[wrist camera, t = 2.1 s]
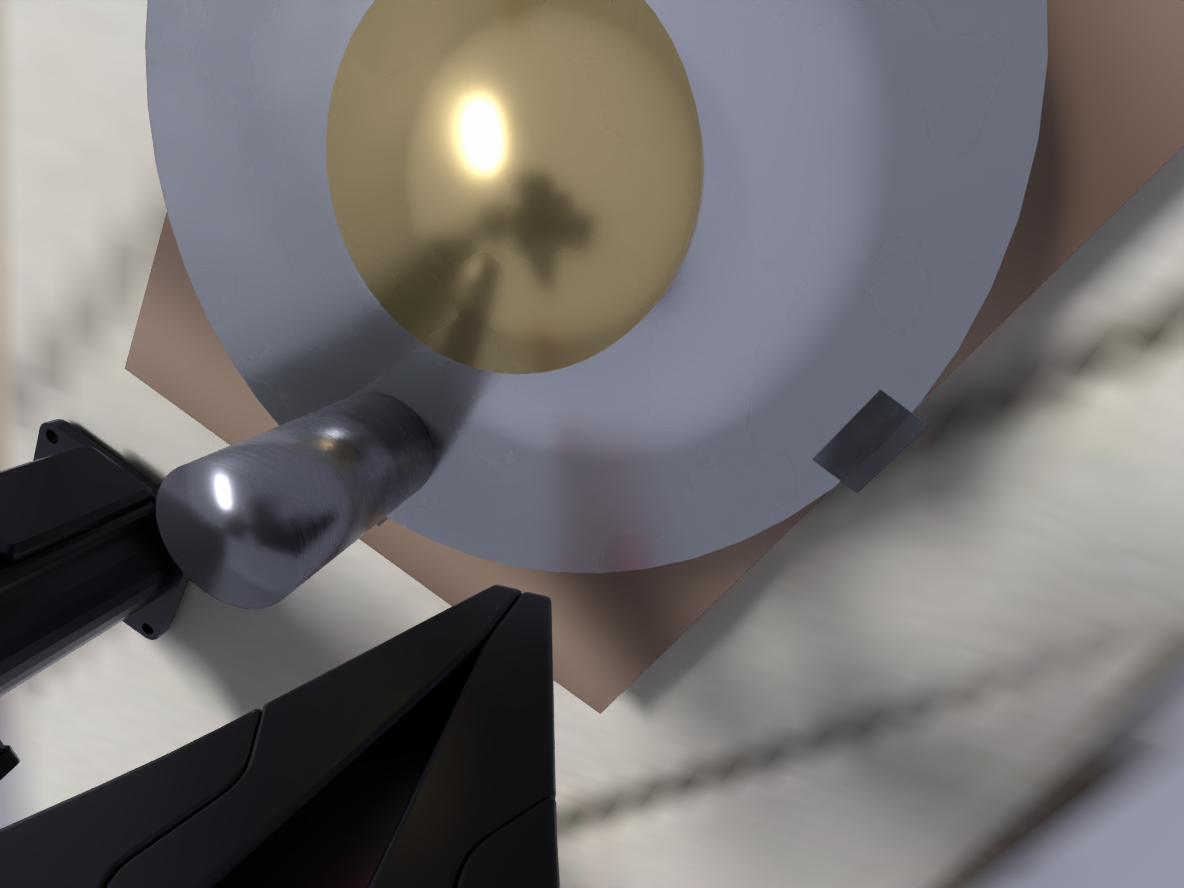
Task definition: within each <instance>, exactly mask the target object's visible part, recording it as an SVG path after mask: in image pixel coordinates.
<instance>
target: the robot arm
mask: <svg viewBox="0 0 1184 888" xmlns="http://www.w3.org/2000/svg"><path fill="white" fill-rule="evenodd" d="M158 490H159V488H158V487H156V486H155V485H154V484H152V483H151V482H150V481H148V480H147V479H145V478H144V477H143V476H141V475H140V474H138V473H137V472H136V471H134V470H133V469H132V468H130V467H129V466H127V465H126V464H125V463H123V462H122V461H121V460H119V459H118V458H116V457H115V456H114V455H112V454H111V453H109V452H108V451H107V450H105V449H104V448H103V447H101V446H100V445H98V444H97V443H96V442H94V441H93V440H91V439H90V438H89V437H87V436H86V435H85V434H83V433H82V432H80V431H79V430H78V429H76V428H75V427H73V426H72V425H71V424H69V423H68V422H66V421H64V420H62V419H57V420H53V421H49V422H46V423H43V424H42V425H41V427H40V430H39V435H38V440H37V445H36V450H35V455H34V460H33V461H32V462H28V463H25V464H22V465H19V466H16V467H13V468H9V469H6V470H3V471H0V697H1V696H2V695H4V694H5V693H7V692H9V691H10V690H12V689H13V688H15V687H17V686H18V685H20V684H21V683H23V682H25V681H26V680H28V679H29V678H31V677H33V676H34V675H36V674H37V673H39V672H41V671H42V670H44V669H45V668H47V667H49V666H50V665H52V664H53V663H55V662H57V661H58V660H60V659H61V658H63V657H65V656H66V655H68V654H69V653H71V652H73V651H74V650H76V649H77V648H79V647H81V646H82V645H84V644H85V643H87V642H89V641H90V640H92V639H93V638H95V637H97V636H98V635H100V634H101V633H103V632H105V631H106V630H108V629H110V628H111V627H113V626H114V625H116V624H118V623H119V622H121V621H123V622H125V623H126V624H127V625H129V626H130V627H132V628H133V629H134V630H136V631H137V632H139V633H140V634H141V635H143V636H144V637H146V638H148V639H151V640H155V639H157V638H159V637H160V636H161V635H163V634H164V633H166V632H167V631H168V629H169V626H170V624H171V621H172V619H173V616H174V614H175V611H176V609H177V606H178V604H179V602H180V599H181V597H182V594H183V592H184V589H185V587H186V584H187V582H188V579H189V578H188V577H187V576H186V575H185V574H184V572H183V571H182V570H181V569H180V568H179V566H178V565H177V564H176V563H175V561H174V560H173V558H172V557H171V555H170V553H169V552H168V550H167V548H166V546H165V544H164V542H163V539H162V537H161V534H160V531H159V528H158V524H157V518H156V498H157V494H158ZM19 762H20V760H19V758H18V757H17V755H16V754H15V752H14V751H13V749H12V748H11V747H10V746H9V745H6V746H4V745H3V743H2V742H1V740H0V780H1V779H2V778H3V777H4V776H5V775H7V774H8V773H9V772H10V771H11V770H12V769H13V768H14V767H15V766H16V765H17V764H18V763H19ZM555 796H556V785H555V739H554V694H553V648H552V604H551V599H550V598H549V597H548V596H544V595H539V594H535V593H531V592H524V593H523V594H522V592H521V591H520V590H518V589H515V588H510V587H506V586H502V585H493V586H491V587H489V588H487V589H485V590H483V591H481V592H479V593H477V594H475V595H473V596H472V597H470V598H468V599H466V600H464V601H462V602H460V603H458V604H456V605H454V606H452V607H451V608H449V609H447V610H445V611H443V612H441V613H439V614H437V615H435V616H433V617H431V618H429V619H428V620H426V621H424V622H422V623H420V624H418V625H416V626H414V627H412V628H410V629H408V630H407V631H405V632H403V633H401V634H399V635H397V636H395V637H393V638H391V639H389V640H387V641H386V642H384V643H382V644H380V645H378V646H376V647H374V648H372V649H370V650H368V651H366V652H365V653H363V654H361V655H359V656H357V657H355V658H353V659H351V660H349V661H347V662H345V663H343V664H342V665H340V666H338V667H336V668H334V669H332V670H330V671H328V672H326V673H324V674H322V675H321V676H319V677H317V678H315V679H313V680H311V681H309V682H307V683H305V684H303V685H301V686H300V687H298V688H296V689H294V690H292V691H290V692H288V693H286V694H284V695H282V696H280V697H278V698H277V699H275V700H273V701H271V702H269V703H267V704H265V705H264V707H263V710H260V709H255V710H253V711H251V712H249V713H247V714H245V715H244V716H242V717H240V718H238V719H236V720H234V721H232V722H230V723H228V724H226V725H224V726H223V727H221V728H219V729H217V730H215V731H213V732H211V733H209V734H207V735H205V736H203V737H201V738H199V739H197V740H195V741H193V742H191V743H189V744H187V745H185V746H183V747H181V748H179V749H177V750H175V751H173V752H171V753H169V754H167V755H164V756H162V757H160V758H158V759H156V760H153V761H151V762H149V763H147V764H145V765H143V766H140V767H138V768H136V769H134V770H132V771H130V772H127V773H125V774H123V775H121V776H119V777H117V778H114V779H112V780H110V781H108V782H106V783H103V784H101V785H99V786H97V787H95V788H92V789H90V790H88V791H86V792H83V793H81V794H79V795H77V796H74V797H72V798H70V799H67V800H65V801H63V802H61V803H58V804H56V805H54V806H52V807H49V808H47V809H45V810H43V811H40V812H38V813H36V814H34V815H31V816H29V817H27V818H24V819H22V820H20V821H18V822H15V823H13V824H11V825H9V826H6V827H4V828H2V829H0V888H560V880H559V863H558V846H557V815H556V801H555Z"/></svg>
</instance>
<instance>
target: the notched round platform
mask: <svg viewBox="0 0 1184 888" xmlns="http://www.w3.org/2000/svg"><path fill="white" fill-rule="evenodd" d="M145 50H146V74H147V98H148V110H149V118H150V125H151V132H152V139H153V147H154V154H155V161H156V166H157V171H158V175H159V179H160V183H161V188H162V192H163V196H164V201H165V205H166V209H167V213H168V218H169V221H170V224H171V227H172V230H173V233H174V236H175V239H176V242H177V245H178V248H179V251H180V254H181V257H182V260H183V263H184V266H185V269H186V271H187V273H188V276H189V278H190V280H191V282H192V285H193V287H194V289H195V292H196V294H197V296H198V298H199V301H200V303H201V305H202V307H203V310H204V312H205V314H206V317H207V318H208V320H209V322H210V324H211V326H212V327H213V329H214V331H215V333H216V335H217V336H218V338H219V340H220V342H221V344H222V345H223V347H224V349H225V351H226V353H227V354H228V356H229V358H230V360H231V361H232V363H233V364H234V366H235V367H236V369H237V370H238V372H239V373H240V375H241V376H242V377H243V379H244V380H245V382H246V383H247V385H248V386H249V388H250V389H251V391H252V392H253V394H254V395H255V396H256V398H257V399H258V401H259V402H260V403H261V404H262V406H263V407H264V408H265V409H266V410H267V412H268V413H269V414H270V415H271V416H272V418H273V419H274V420H275V421H276V422H277V424H278V425H279V426H278V427H275V428H273V429H270V430H268V431H265V432H263V433H261V434H258V435H256V436H253V437H251V438H248V439H246V440H243V441H241V442H239V443H236V444H234V445H231V446H229V447H226V448H224V449H221V450H219V451H217V452H214V453H212V454H209V455H207V456H204V457H202V458H200V459H197V460H195V461H192V462H190V463H187V464H185V465H182V466H180V467H178V468H176V469H174V470H173V471H171V472H170V473H169V474H168V475H167V476H166V477H165V479H164V480H163V482H162V483H161V485H160V488H159V490H158V494H157V498H156V518H157V524H158V528H159V531H160V534H161V537H162V539H163V542H164V544H165V546H166V548H167V550H168V552H169V553H170V555H171V557H172V558H173V560H174V561H175V563H176V564H177V565H178V566H179V568H180V569H181V570H182V571H183V572H184V574H185V575H186V576H187V577H188V578H189V579H190V580H191V581H192V582H193V583H195V584H196V585H197V586H198V587H199V588H201V589H202V590H203V591H205V592H206V593H208V594H209V595H211V596H213V597H214V598H216V599H218V600H220V601H222V602H225V603H227V604H230V605H233V606H236V607H241V608H247V609H259V608H265V607H269V606H272V605H274V604H276V603H278V602H279V601H281V600H282V599H284V598H285V597H286V596H287V595H289V594H290V593H291V592H292V591H294V590H295V589H296V588H297V587H299V586H300V585H301V584H302V583H304V582H305V581H306V580H307V579H309V578H310V577H311V576H312V575H314V574H315V573H316V572H317V571H319V570H320V569H321V568H322V567H324V566H325V565H326V564H327V563H329V562H330V561H331V560H332V559H334V558H335V557H336V556H337V555H339V554H340V553H341V552H342V551H344V550H345V549H346V548H347V547H349V546H350V545H351V544H352V543H354V542H355V541H356V540H357V539H359V538H360V537H361V536H362V535H364V534H365V533H366V532H367V531H369V530H370V529H371V528H372V527H374V526H375V525H378V526H380V525H381V524H382V523H384V522H385V521H386V520H387V519H391V520H393V521H395V522H397V523H399V524H400V525H402V526H404V527H406V528H408V529H410V530H412V531H414V532H416V533H418V534H420V535H422V536H424V537H426V538H428V539H430V540H432V541H435V542H437V543H440V544H443V545H445V546H448V547H451V548H453V549H456V550H458V551H461V552H464V553H466V554H469V555H472V556H476V557H480V558H483V559H487V560H491V561H495V562H499V563H503V564H507V565H511V566H515V567H523V568H530V569H537V570H544V571H551V572H569V573H609V572H619V571H629V570H639V569H648V568H653V567H657V566H662V565H666V564H671V563H675V562H680V561H684V560H689V559H693V558H696V557H699V556H702V555H705V554H708V553H710V552H713V551H716V550H719V549H722V548H724V547H727V546H730V545H733V544H736V543H739V542H741V541H743V540H745V539H747V538H749V537H751V536H753V535H755V534H757V533H759V532H761V531H763V530H765V529H767V528H769V527H771V526H773V525H775V524H777V523H779V522H781V521H783V520H785V519H787V518H789V517H790V516H792V515H793V514H795V513H796V512H798V511H799V510H801V509H802V508H804V507H805V506H807V505H808V504H810V503H811V502H813V501H814V500H816V499H817V498H819V497H820V496H822V495H823V494H825V493H826V492H828V491H829V490H831V489H832V488H834V487H835V486H836V485H837V484H838V483H840V482H843V483H844V484H845V485H847V486H848V487H850V488H851V489H852V490H854V491H855V492H856V493H858V492H859V491H860V490H861V489H862V488H863V487H864V486H865V485H866V484H867V483H868V482H869V481H870V480H871V479H872V478H873V477H875V476H876V475H877V474H878V473H879V472H880V471H881V470H882V469H883V468H884V467H885V466H886V465H887V464H888V463H889V462H890V461H891V460H893V459H894V458H895V457H896V456H897V455H898V454H899V453H900V452H901V451H902V450H903V449H904V448H905V447H906V446H907V445H908V444H909V443H911V442H912V441H913V440H914V439H915V438H916V437H917V436H918V435H919V434H920V433H921V432H922V431H923V430H924V429H925V428H926V427H927V426H928V424H927V423H925V422H924V421H923V420H922V419H921V418H920V417H919V416H918V415H917V414H916V413H915V412H914V410H915V408H916V407H917V406H918V405H919V404H920V403H921V401H922V400H923V398H924V397H925V396H926V394H927V393H928V391H929V390H930V389H931V387H932V386H933V384H934V383H935V382H936V380H937V379H938V377H939V376H940V375H941V373H942V372H943V370H944V369H945V368H946V366H947V365H948V363H949V362H950V360H951V359H952V358H953V356H954V355H955V353H956V352H957V351H958V349H959V347H960V345H961V343H962V342H963V340H964V338H965V336H966V334H967V332H968V330H969V329H970V327H971V325H972V323H973V321H974V319H975V317H976V316H977V314H978V312H979V310H980V308H981V306H982V305H983V303H984V301H985V299H986V297H987V295H988V293H989V292H990V290H991V288H992V285H993V283H994V280H995V278H996V275H997V272H998V270H999V267H1000V265H1001V262H1002V260H1003V257H1004V254H1005V252H1006V249H1007V247H1008V244H1009V242H1010V239H1011V237H1012V234H1013V231H1014V229H1015V226H1016V224H1017V221H1018V219H1019V215H1020V211H1021V207H1022V203H1023V199H1024V195H1025V191H1026V187H1027V183H1028V179H1029V175H1030V171H1031V167H1032V163H1033V159H1034V155H1035V151H1036V147H1037V143H1038V137H1039V129H1040V120H1041V112H1042V103H1043V95H1044V86H1045V78H1046V69H1047V61H1048V37H1047V0H148V4H147V22H146V40H145Z"/></svg>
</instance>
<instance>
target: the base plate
mask: <svg viewBox="0 0 1184 888" xmlns="http://www.w3.org/2000/svg"><path fill="white" fill-rule="evenodd" d="M1047 37H1048V61H1047V69H1046V78H1045V86H1044V95H1043V103H1042V112H1041V120H1040V129H1039V137H1038V143H1037V147H1036V151H1035V155H1034V159H1033V163H1032V167H1031V171H1030V175H1029V179H1028V183H1027V187H1026V191H1025V195H1024V199H1023V203H1022V207H1021V211H1020V215H1019V219H1018V221H1017V224H1016V226H1015V229H1014V231H1013V234H1012V237H1011V239H1010V242H1009V244H1008V247H1007V249H1006V252H1005V254H1004V257H1003V260H1002V262H1001V265H1000V267H999V270H998V272H997V275H996V278H995V280H994V283H993V285H992V288H991V290H990V292H989V293H988V295H987V297H986V299H985V301H984V303H983V305H982V306H981V308H980V310H979V312H978V314H977V316H976V317H975V319H974V321H973V323H972V325H971V327H970V329H969V330H968V332H967V334H966V336H965V338H964V340H963V342H962V343H961V345H960V347H959V349H958V351H957V352H956V353H955V355H954V356H953V358H952V359H951V360H950V362H949V363H948V365H947V366H946V368H945V369H944V370H943V372H942V373H941V375H940V376H939V377H938V379H937V380H936V382H935V383H934V384H933V386H932V387H931V389H930V390H929V391H928V393H927V394H926V396H927V395H928V394H929V393H930V392H931V391H932V390H933V389H934V388H935V387H936V386H937V385H938V384H939V383H940V382H941V381H942V380H943V379H944V378H946V377H947V376H948V375H949V374H950V373H951V372H952V371H953V370H954V369H955V368H956V367H957V366H958V365H959V364H960V363H961V362H962V361H963V360H964V359H965V358H966V357H967V356H968V355H969V354H970V353H971V352H972V351H973V350H974V349H975V348H976V347H977V346H978V345H979V344H980V343H981V342H982V341H984V340H985V339H986V338H987V337H988V336H989V335H990V334H991V333H992V332H993V331H994V330H995V329H996V328H997V327H998V326H999V325H1000V324H1001V323H1002V322H1003V321H1004V320H1005V319H1006V318H1007V317H1008V316H1009V315H1010V314H1011V313H1012V312H1013V311H1014V310H1015V309H1016V308H1017V307H1018V306H1019V305H1020V304H1021V303H1023V302H1024V301H1025V300H1026V299H1027V298H1028V297H1029V296H1030V295H1031V294H1032V293H1033V292H1034V291H1035V290H1036V289H1037V288H1038V287H1039V286H1040V285H1041V284H1042V283H1043V282H1044V281H1045V280H1046V279H1047V278H1048V277H1049V276H1050V275H1051V274H1052V273H1053V272H1054V271H1055V270H1056V269H1057V268H1058V267H1059V266H1061V265H1062V264H1063V263H1064V262H1065V261H1066V260H1067V259H1068V258H1069V257H1070V256H1071V255H1072V254H1073V253H1074V252H1075V251H1076V250H1077V249H1078V248H1079V247H1080V246H1081V245H1082V244H1083V243H1084V242H1085V241H1086V240H1087V239H1088V238H1089V237H1090V236H1091V235H1092V234H1093V233H1094V232H1095V231H1096V230H1097V229H1099V228H1100V227H1101V226H1102V225H1103V224H1104V223H1105V222H1106V221H1107V220H1108V219H1109V218H1110V217H1111V216H1112V215H1113V214H1114V213H1115V212H1116V211H1117V210H1118V209H1119V208H1120V207H1121V206H1122V205H1123V204H1124V203H1125V202H1126V201H1127V200H1128V199H1129V198H1130V197H1131V196H1132V195H1133V194H1134V193H1135V192H1137V191H1138V190H1139V189H1140V188H1141V187H1142V186H1143V185H1144V184H1145V183H1146V182H1147V181H1148V180H1149V179H1150V178H1151V177H1152V176H1153V175H1154V174H1155V173H1156V172H1157V171H1158V170H1159V169H1160V168H1161V167H1162V166H1163V165H1164V164H1165V163H1166V162H1167V161H1168V160H1169V159H1170V158H1171V157H1172V156H1173V155H1174V154H1176V153H1177V152H1178V151H1179V150H1180V149H1181V148H1182V147H1183V146H1184V0H1047ZM125 369H126V370H128V371H129V372H130V373H132V374H133V375H135V376H136V377H137V378H139V379H140V380H141V381H143V382H144V383H146V384H147V385H148V386H150V387H151V388H152V389H154V390H155V391H157V392H158V393H159V394H161V395H162V396H163V397H165V398H166V399H168V400H169V401H170V402H172V403H173V404H174V405H176V406H177V407H179V408H180V409H181V410H183V411H184V412H185V413H187V414H188V415H190V416H191V417H192V418H194V419H195V420H196V421H198V422H199V423H201V424H202V425H203V426H205V427H206V428H207V429H209V430H210V431H212V432H213V433H214V434H216V435H217V436H218V437H220V438H221V439H223V440H224V441H225V442H227V443H228V444H229V445H234V444H236V443H239V442H241V441H243V440H246V439H248V438H251V437H253V436H256V435H258V434H261V433H263V432H265V431H268V430H270V429H273V428H275V427H278V426H279V425H278V424H277V422H276V421H275V420H274V419H273V418H272V416H271V415H270V414H269V413H268V412H267V410H266V409H265V408H264V407H263V406H262V404H261V403H260V402H259V401H258V399H257V398H256V396H255V395H254V394H253V392H252V391H251V389H250V388H249V386H248V385H247V383H246V382H245V380H244V379H243V377H242V376H241V375H240V373H239V372H238V370H237V369H236V367H235V366H234V364H233V363H232V361H231V360H230V358H229V356H228V354H227V353H226V351H225V349H224V347H223V345H222V344H221V342H220V340H219V338H218V336H217V335H216V333H215V331H214V329H213V327H212V326H211V324H210V322H209V320H208V318H207V317H206V314H205V312H204V310H203V307H202V305H201V303H200V301H199V298H198V296H197V294H196V292H195V289H194V287H193V285H192V282H191V280H190V278H189V276H188V273H187V271H186V269H185V266H184V263H183V260H182V257H181V254H180V251H179V248H178V245H177V242H176V239H175V236H174V233H173V230H172V227H171V224H170V221H169V218H168V213H167V214H166V217H165V221H164V225H163V228H162V232H161V236H160V240H159V243H158V247H157V251H156V254H155V258H154V262H153V266H152V269H151V273H150V277H149V280H148V284H147V288H146V292H145V295H144V299H143V303H142V306H141V310H140V314H139V318H138V321H137V325H136V329H135V332H134V336H133V340H132V344H131V347H130V351H129V355H128V358H127V362H126V366H125ZM926 396H925V397H926ZM925 397H924V398H925ZM924 398H923V399H924ZM826 493H827V492H826ZM826 493H825V494H826ZM825 494H823V495H822V496H820V497H819V498H817V499H816V500H814V501H813V502H811V503H810V504H808V505H807V506H805V507H804V508H802V509H801V510H799V511H798V512H796V513H795V514H793V515H792V516H790V517H789V518H787V519H785V520H783V521H781V522H779V523H777V524H775V525H773V526H771V527H769V528H767V529H765V530H763V531H761V532H759V533H757V534H755V535H753V536H751V537H749V538H747V539H745V540H743V541H741V542H739V543H736V544H733V545H730V546H727V547H724V548H722V549H719V550H716V551H713V552H710V553H708V554H705V555H702V556H699V557H696V558H693V559H689V560H684V561H680V562H675V563H671V564H666V565H662V566H657V567H653V568H648V569H639V570H629V571H619V572H609V573H569V572H551V571H544V570H537V569H530V568H523V567H515V566H511V565H507V564H503V563H499V562H495V561H491V560H487V559H483V558H480V557H476V556H472V555H469V554H466V553H464V552H461V551H458V550H456V549H453V548H451V547H448V546H445V545H443V544H440V543H437V542H435V541H432V540H430V539H428V538H426V537H424V536H422V535H420V534H418V533H416V532H414V531H412V530H410V529H408V528H406V527H404V526H402V525H400V524H399V523H397V522H395V521H393V520H391V519H387V520H386V521H385V522H384V523H382V524H381V525H380V526H378V525H375V526H374V527H372V528H371V529H370V530H369V531H367V532H366V533H365V534H364V535H362V536H361V537H360V538H359V539H360V540H362V541H363V542H364V543H366V544H367V545H369V546H370V547H371V548H373V549H374V550H375V551H377V552H378V553H380V554H381V555H382V556H384V557H385V558H386V559H388V560H389V561H391V562H392V563H393V564H395V565H396V566H397V567H399V568H400V569H402V570H403V571H404V572H406V573H407V574H408V575H410V576H411V577H413V578H414V579H415V580H417V581H418V582H419V583H421V584H422V585H424V586H425V587H426V588H428V589H429V590H430V591H432V592H433V593H435V594H436V595H437V596H439V597H440V598H442V599H443V600H444V601H446V602H447V603H448V604H450V605H451V606H454V605H456V604H458V603H460V602H462V601H464V600H466V599H468V598H470V597H472V596H473V595H475V594H477V593H479V592H481V591H483V590H485V589H487V588H489V587H491V586H493V585H502V586H506V587H510V588H515V589H518V590H520V591H521V592H522V594H523V593H524V592H531V593H535V594H539V595H544V596H548V597H549V598H550V599H551V604H552V648H553V680H554V681H556V682H557V683H559V684H560V685H561V686H563V687H564V688H565V689H567V690H568V691H570V692H571V693H572V694H574V695H575V696H576V697H578V698H579V699H581V700H582V701H583V702H585V703H586V704H587V705H589V706H590V707H592V708H593V709H594V710H596V711H597V712H598V713H602V712H603V711H604V710H605V709H606V708H607V707H608V706H609V705H610V704H611V703H612V702H613V701H614V700H615V699H616V698H617V697H618V696H619V695H620V694H621V693H622V692H623V691H624V690H625V689H626V688H627V687H628V686H629V685H630V684H631V683H632V682H633V681H634V680H635V679H636V678H637V677H638V676H640V675H641V674H642V673H643V672H644V671H645V670H646V669H647V668H648V667H649V666H650V665H651V664H652V663H653V662H654V661H655V660H656V659H657V658H658V657H659V656H660V655H661V654H662V653H663V652H664V651H665V650H666V649H667V648H668V647H669V646H670V645H671V644H672V643H673V642H674V641H675V640H676V639H678V638H679V637H680V636H681V635H682V634H683V633H684V632H685V631H686V630H687V629H688V628H689V627H690V626H691V625H692V624H693V623H694V622H695V621H696V620H697V619H698V618H699V617H700V616H701V615H702V614H703V613H704V612H705V611H706V610H707V609H708V608H709V607H710V606H711V605H712V604H713V603H714V602H715V601H717V600H718V599H719V598H720V597H721V596H722V595H723V594H724V593H725V592H726V591H727V590H728V589H729V588H730V587H731V586H732V585H733V584H734V583H735V582H736V581H737V580H738V579H739V578H740V577H741V576H742V575H743V574H744V573H745V572H746V571H747V570H748V569H749V568H750V567H751V566H752V565H753V564H755V563H756V562H757V561H758V560H759V559H760V558H761V557H762V556H763V555H764V554H765V553H766V552H767V551H768V550H769V549H770V548H771V547H772V546H773V545H774V544H775V543H776V542H777V541H778V540H779V539H780V538H781V537H782V536H783V535H784V534H785V533H786V532H787V531H788V530H789V529H790V528H791V527H793V526H794V525H795V524H796V523H797V522H798V521H799V520H800V519H801V518H802V517H803V516H804V515H805V514H806V513H807V512H808V511H809V510H810V509H811V508H812V507H813V506H814V505H815V504H816V503H817V502H818V501H819V500H820V499H821V498H822V497H823V496H824V495H825Z"/></svg>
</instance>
